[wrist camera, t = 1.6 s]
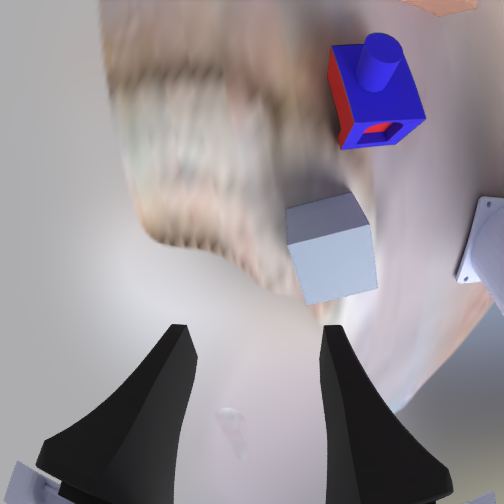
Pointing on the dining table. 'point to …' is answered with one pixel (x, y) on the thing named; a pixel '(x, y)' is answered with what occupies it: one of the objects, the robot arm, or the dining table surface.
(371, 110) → the toy building block
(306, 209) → the slate blue block
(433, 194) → the dining table surface
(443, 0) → the terracotta block
